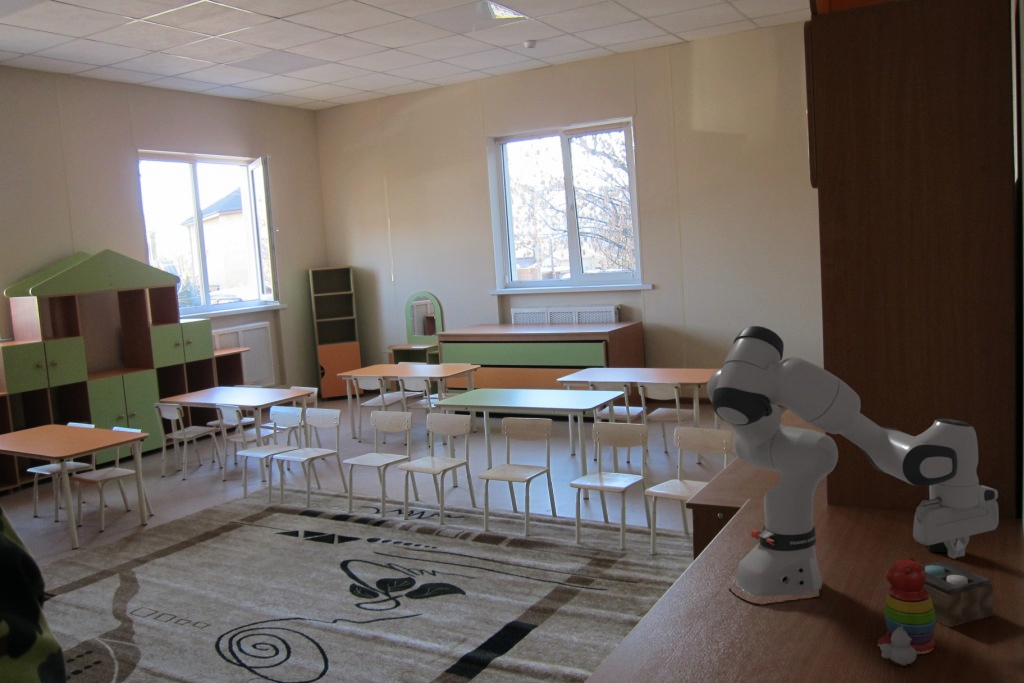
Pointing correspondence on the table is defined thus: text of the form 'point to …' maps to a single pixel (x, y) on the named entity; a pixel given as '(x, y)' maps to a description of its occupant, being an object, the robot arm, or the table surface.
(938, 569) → the teal peg
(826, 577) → the table surface
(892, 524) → the table surface
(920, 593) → the stacking bear
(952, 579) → the grey peg
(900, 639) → the rubber duck
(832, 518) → the table surface
